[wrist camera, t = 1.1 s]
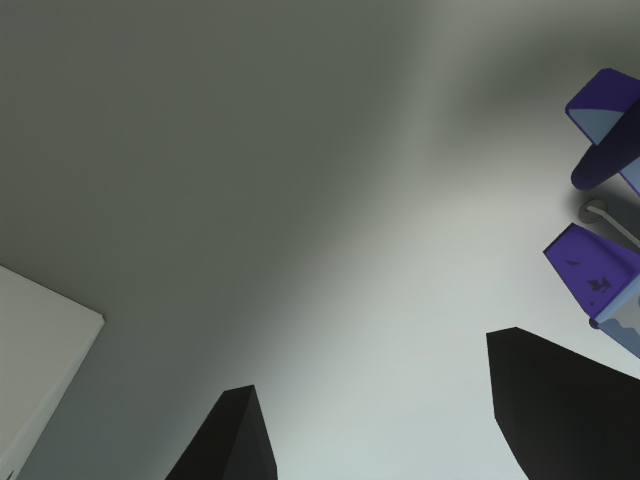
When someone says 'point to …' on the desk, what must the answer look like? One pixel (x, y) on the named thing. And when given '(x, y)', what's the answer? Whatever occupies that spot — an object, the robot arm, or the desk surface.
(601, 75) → the toy airplane
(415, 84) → the desk surface
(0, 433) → the gable box
